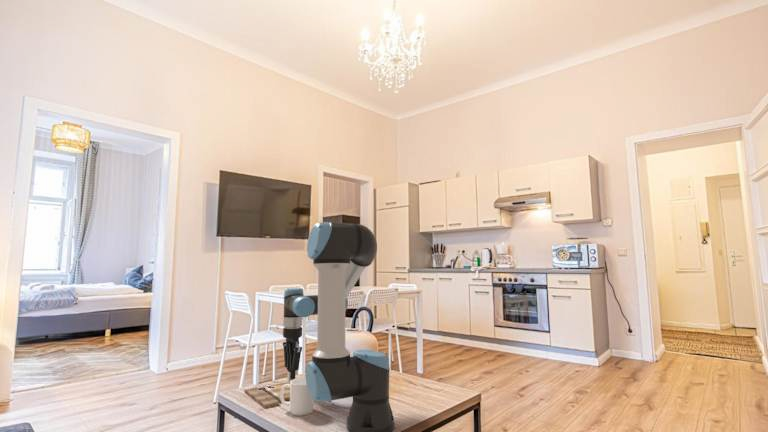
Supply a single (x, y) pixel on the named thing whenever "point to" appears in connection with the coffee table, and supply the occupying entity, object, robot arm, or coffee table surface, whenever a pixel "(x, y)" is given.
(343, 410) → the coffee table surface
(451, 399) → the coffee table surface
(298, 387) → the cup
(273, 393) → the plank
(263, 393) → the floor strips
